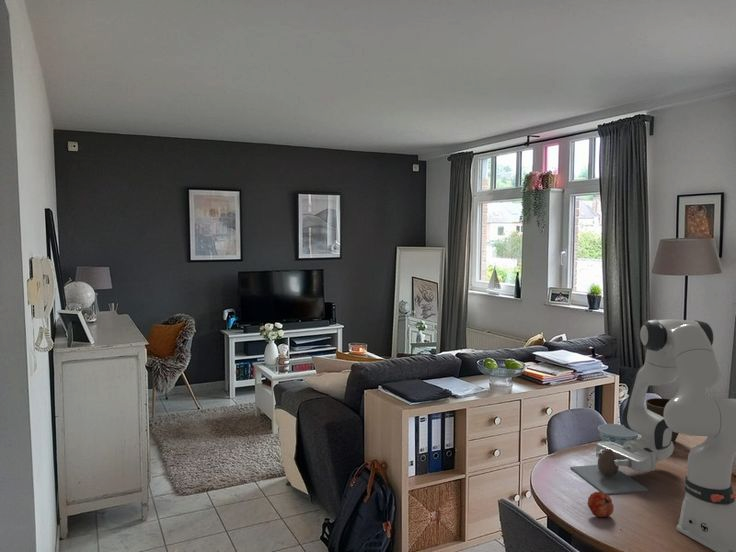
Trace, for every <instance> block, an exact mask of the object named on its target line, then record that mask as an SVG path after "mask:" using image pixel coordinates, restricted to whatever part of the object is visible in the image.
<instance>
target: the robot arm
mask: <svg viewBox="0 0 736 552" xmlns="http://www.w3.org/2000/svg"><path fill="white" fill-rule="evenodd" d="M639 337H640V342H641V345H642V346H643V347H644V348H645V349H646V353H645V359H644V360H645V361H644V364H643V366H641V367H639V368H638V369H637V370H636V372H635V374H634V377H633V379H632V383H631V386H630V390H629V393H628V396H627V399H626V404H625V406H624V408H623V409H622V412H621V417H620V418H621V422H622V425H624V426H625V427H626V428H627V429H629V430H632V431H634V432H636V433H638V435H639V436H641V438H637V440H632V441H627V442H625V443H624V444H623V446H622V445H619V444H617V443H614V442H603V441H600V442H597V443H596V445H595V457H597V458H599V456H600V455H601V454H602V453H603V452H604V450H605V449H611V450H612V451H613V453H614V454H615V456H616V457H617V460H614V465H616V466H619V467H628V468H629V469H632V470H634V471H636V472H638V473H639V472H641V473H644V472H648V471H649V472H650V471H651V472H652V471H655V469H656V463H657V462H661V461H663V460H666V459H667V458H670V457H671V455H672V454H673V452H674V450H675V448H674V443H673V442H672V438H673V432H676V433H679V434H680V435H685V436H691V437H706V439H705V440H704V441H703V442H702V443H700V444H698V445H696V446H694V447H693V448H691V449H690V451H689V453H688V455H687V469H686V470H687V471H686V473H687V474H686V476H685V477H684V479H685V480H684V491H685V494H684V497H683V501H682V504H681V508H680V509H681V511H680V516H679V518H678V523H677V525H676V531H677V532H680V533H681V534H683V535H685V536H687V537H688V538H691V539H692V540H694V541H696V542H697V543H699V544H700V545H703V546H704V547H707V548H708V549H710V550H712V551H714V552H736V493H734V489H733V486H732V483H731V481H732V470H733V463H734V459H735V456H736V398H721V397H720V398H719V397H710V396H708V394H707V391H709V390H711V389H713V388H715V387H716V386H717V385H718V384H719V382H720V381H721V378H722V377H721V374H722V373H721V371H720V368H719V364H718V361H717V357H716V353H715V352H714V348H713V344H714V339H715V338H714V337H715V336H714V331H713V329H712V327H711V326H710V325H709V324H708V323H707V322H705V321H701V320H687V319H677V318H673V319H672V318H669V319H668V318H667V319H650V320H646V321H644V322H643V324H642V325H641V326H640V333H639ZM677 379H678V381H679V384H678V385H679V386H678V389H677V392H676V394H675V395H674V396H673V397H672V398H671V400H670V401H669V402H668V403H667V404H666V406H665V408H664V417H662V416H660V415H658V414H656V413H654V412H652V411H650V410H648V409H647V406H645V404H644V403H645V398H646V395H647V392H648V388H649V387H650V386H653V387H654V386H655V387H656V386H657V387H658V386H659V387H660V386H667V385H669V384H672V383H674V381H676V380H677Z"/></svg>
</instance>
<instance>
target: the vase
mask: <svg viewBox="0 0 736 552" xmlns="http://www.w3.org/2000/svg"><path fill="white" fill-rule="evenodd" d="M597 458H598V457H597ZM614 460H617V457H616V456H615V454H614V453H613V451H612V450H611V449H605V450H604V452H603V453H602V454H601V455H600V456H599V458H598V459H597V465H598V469H599V471H600V472H601V473H602V474H603V475H605V476H614V475H615V474H616V473H617V471H618V470H619V468H620V466H616V465H614Z"/></svg>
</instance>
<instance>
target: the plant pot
mask: <svg viewBox="0 0 736 552" xmlns="http://www.w3.org/2000/svg"><path fill="white" fill-rule="evenodd" d="M671 399H672V398H671ZM671 399H670V398H661V397H660V398H659V397H657V398H655V397H654V398H648V399H647V400H645V403H646V408H647V409H648V410H650V411H652V412H654V413H656V414H658V415H660V416H662V417H664V408H665V406H666V404H667V403H668V402H669V401H670V400H671ZM679 434H680V433H676V432H673V438H672V442H673V444H674V443H675V442H676V441H677V438H678V436H679Z"/></svg>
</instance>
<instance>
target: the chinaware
mask: <svg viewBox="0 0 736 552" xmlns="http://www.w3.org/2000/svg"><path fill="white" fill-rule="evenodd" d="M597 431H598V434H599V436H600V439H601V440H602V442H614V443H617V444H619V445H622V446H623V444H624V443H625V442H627V441H632V440H637V439H638V437H639V434H638V433H636V432H634V431H632V430H629V429H627V428H626V427H625V426H624V425H623V424H619V423H618V424H617V423H604V424H600V425H598V426H597Z"/></svg>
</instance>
